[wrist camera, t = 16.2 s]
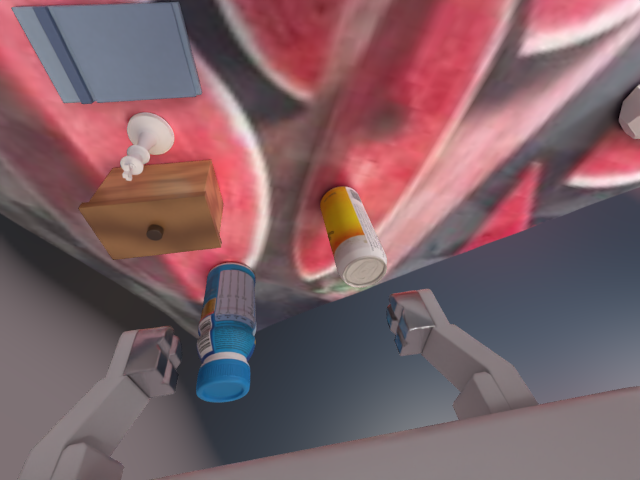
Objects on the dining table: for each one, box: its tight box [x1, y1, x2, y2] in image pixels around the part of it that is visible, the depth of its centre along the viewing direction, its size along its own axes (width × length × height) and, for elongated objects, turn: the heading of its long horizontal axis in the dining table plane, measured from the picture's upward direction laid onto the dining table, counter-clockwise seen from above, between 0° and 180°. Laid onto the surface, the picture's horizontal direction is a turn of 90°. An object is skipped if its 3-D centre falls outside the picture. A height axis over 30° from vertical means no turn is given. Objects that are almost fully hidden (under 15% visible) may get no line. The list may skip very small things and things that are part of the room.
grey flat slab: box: [11, 2, 202, 104], centre depth 30 cm, size 8×14×1 cm, turn 90°
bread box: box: [78, 160, 223, 260], centre depth 37 cm, size 8×13×10 cm, turn 91°
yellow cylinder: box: [320, 186, 387, 287], centre depth 41 cm, size 6×6×15 cm
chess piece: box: [120, 112, 174, 181], centre depth 32 cm, size 5×5×10 cm
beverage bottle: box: [196, 263, 256, 402], centre depth 47 cm, size 8×8×20 cm
